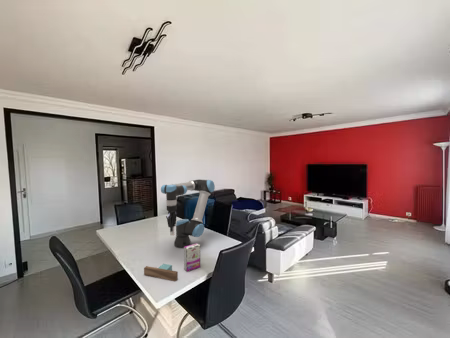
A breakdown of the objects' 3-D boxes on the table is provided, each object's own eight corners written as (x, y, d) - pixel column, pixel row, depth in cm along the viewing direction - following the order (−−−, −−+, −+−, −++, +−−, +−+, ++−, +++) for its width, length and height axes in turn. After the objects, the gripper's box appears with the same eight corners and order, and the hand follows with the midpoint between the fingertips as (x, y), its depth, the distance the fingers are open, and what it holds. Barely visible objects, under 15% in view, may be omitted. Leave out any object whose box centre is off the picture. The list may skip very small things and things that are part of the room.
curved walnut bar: (146, 273, 138) (146, 266, 138) (177, 279, 131) (177, 271, 131) (144, 275, 135) (144, 267, 135) (175, 281, 129) (175, 273, 129)
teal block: (163, 269, 143) (163, 263, 143) (171, 271, 141) (171, 265, 141) (157, 275, 136) (157, 268, 136) (166, 276, 134) (166, 270, 134)
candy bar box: (197, 264, 150) (197, 242, 150) (200, 267, 146) (200, 245, 146) (183, 269, 144) (183, 246, 144) (186, 272, 140) (186, 248, 139)
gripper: (171, 202, 161) (172, 231, 163) (162, 206, 149) (163, 237, 150) (180, 203, 159) (180, 232, 161) (171, 207, 147) (172, 238, 148)
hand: (172, 235), depth 155 cm, fingers closed
